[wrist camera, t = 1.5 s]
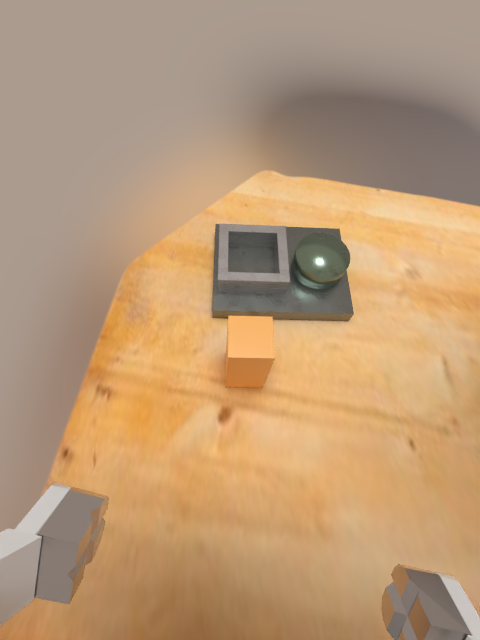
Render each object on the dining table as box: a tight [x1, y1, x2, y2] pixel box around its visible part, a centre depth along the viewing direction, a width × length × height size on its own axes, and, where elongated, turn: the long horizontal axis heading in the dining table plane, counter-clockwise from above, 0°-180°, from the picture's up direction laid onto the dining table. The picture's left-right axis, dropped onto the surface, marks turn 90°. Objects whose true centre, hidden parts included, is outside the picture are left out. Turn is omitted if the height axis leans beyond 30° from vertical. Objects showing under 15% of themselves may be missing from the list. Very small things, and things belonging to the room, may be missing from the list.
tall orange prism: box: [226, 316, 275, 388], centre depth 38 cm, size 4×4×10 cm
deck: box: [213, 224, 354, 321], centre depth 47 cm, size 18×14×5 cm
